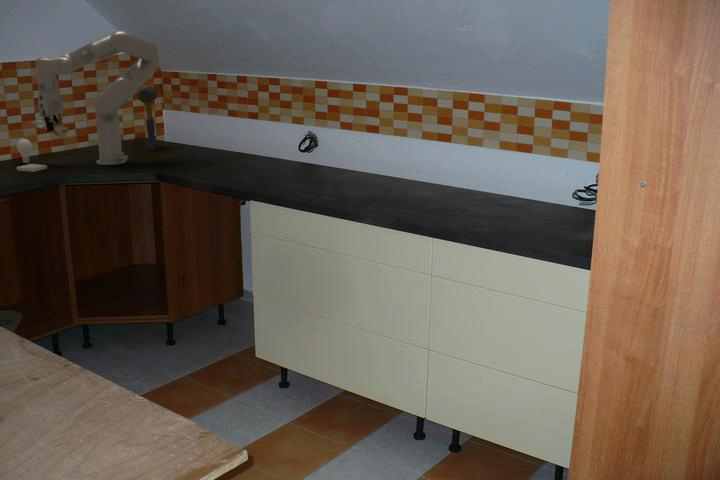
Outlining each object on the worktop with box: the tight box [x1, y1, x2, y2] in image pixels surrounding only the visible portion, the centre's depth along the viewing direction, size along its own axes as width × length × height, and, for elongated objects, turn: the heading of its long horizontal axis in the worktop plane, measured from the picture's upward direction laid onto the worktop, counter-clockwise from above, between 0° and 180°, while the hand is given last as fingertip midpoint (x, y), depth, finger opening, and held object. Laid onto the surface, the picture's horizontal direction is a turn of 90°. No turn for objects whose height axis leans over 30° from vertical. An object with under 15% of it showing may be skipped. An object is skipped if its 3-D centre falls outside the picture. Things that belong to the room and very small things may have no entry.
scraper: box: [29, 119, 69, 139], centre depth 350 cm, size 16×6×4 cm, turn 70°
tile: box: [16, 163, 48, 173], centre depth 347 cm, size 2×8×9 cm
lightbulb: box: [15, 138, 33, 165], centre depth 359 cm, size 6×6×11 cm
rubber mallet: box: [137, 86, 159, 151], centre depth 389 cm, size 12×8×30 cm, turn 1°
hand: (53, 130), depth 351 cm, fingers closed on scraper, 3 cm apart
